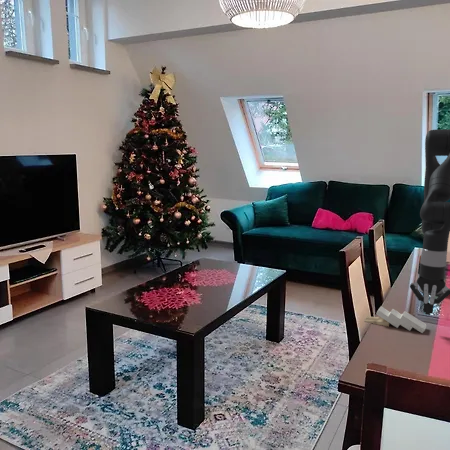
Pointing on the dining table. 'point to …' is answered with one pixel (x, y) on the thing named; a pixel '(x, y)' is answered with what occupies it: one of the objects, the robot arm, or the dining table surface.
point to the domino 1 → (377, 321)
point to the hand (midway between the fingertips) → (427, 313)
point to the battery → (419, 265)
